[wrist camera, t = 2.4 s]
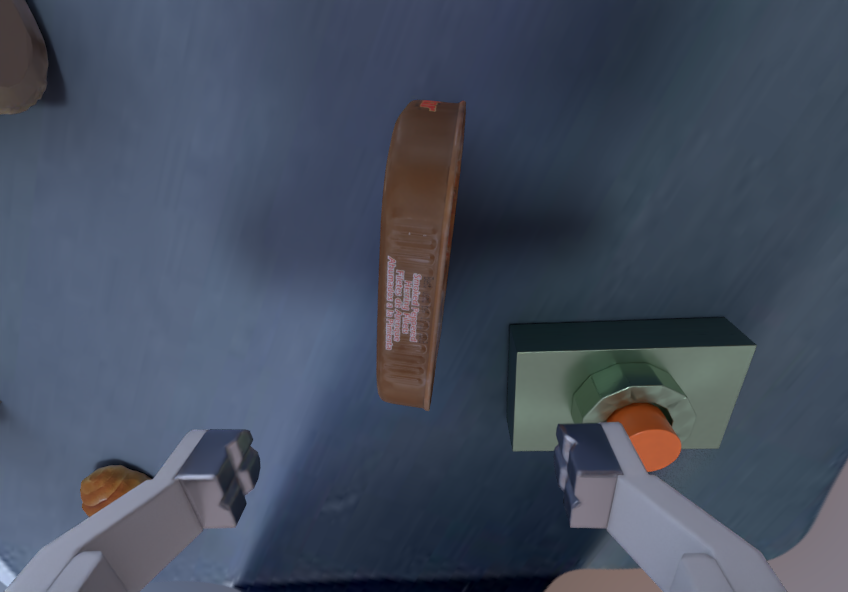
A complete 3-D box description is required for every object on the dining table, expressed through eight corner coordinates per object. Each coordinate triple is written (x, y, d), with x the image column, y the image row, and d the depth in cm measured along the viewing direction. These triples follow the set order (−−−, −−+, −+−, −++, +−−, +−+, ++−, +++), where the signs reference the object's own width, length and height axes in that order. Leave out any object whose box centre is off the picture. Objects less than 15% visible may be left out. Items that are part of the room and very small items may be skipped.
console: (509, 324, 26) (522, 374, 22) (725, 316, 25) (783, 368, 21) (506, 418, 30) (517, 477, 26) (694, 414, 29) (738, 475, 25)
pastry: (74, 469, 35) (35, 512, 32) (137, 450, 34) (103, 492, 30) (148, 534, 39) (121, 578, 36) (207, 519, 38) (184, 563, 34)
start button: (609, 402, 23) (623, 430, 21) (669, 400, 23) (688, 429, 21) (601, 443, 25) (614, 472, 23) (657, 442, 24) (674, 472, 23)
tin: (438, 348, 28) (436, 450, 20) (391, 343, 28) (371, 444, 20) (469, 96, 20) (482, 110, 13) (404, 90, 20) (382, 101, 13)
